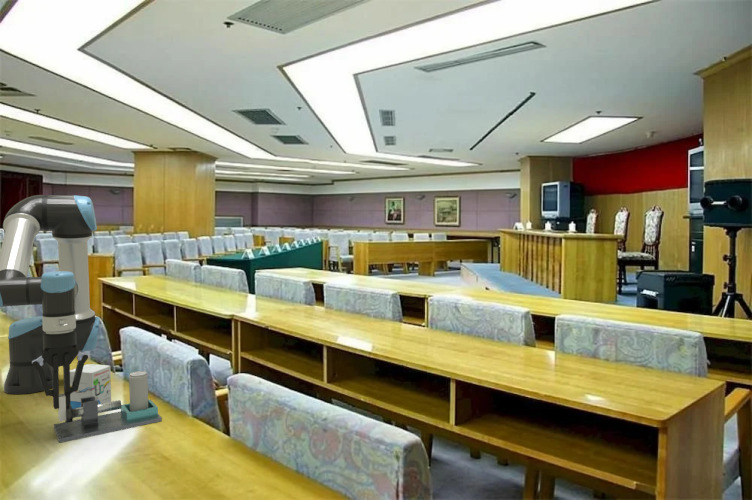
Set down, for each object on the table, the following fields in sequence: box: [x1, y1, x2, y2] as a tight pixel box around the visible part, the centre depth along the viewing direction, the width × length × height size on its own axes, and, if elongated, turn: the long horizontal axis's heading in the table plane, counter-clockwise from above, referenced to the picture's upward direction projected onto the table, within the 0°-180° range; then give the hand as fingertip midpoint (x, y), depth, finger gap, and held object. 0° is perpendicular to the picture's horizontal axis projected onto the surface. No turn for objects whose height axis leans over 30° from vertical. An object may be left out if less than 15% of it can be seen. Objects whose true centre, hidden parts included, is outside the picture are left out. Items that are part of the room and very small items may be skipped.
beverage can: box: [128, 370, 149, 412], centre depth 154 cm, size 5×5×12 cm
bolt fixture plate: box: [53, 396, 163, 443], centre depth 149 cm, size 12×25×8 cm, turn 127°
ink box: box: [70, 363, 112, 409], centre depth 164 cm, size 8×8×12 cm
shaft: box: [64, 399, 122, 423], centre depth 147 cm, size 4×13×4 cm, turn 127°
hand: (62, 419), depth 142 cm, fingers closed
